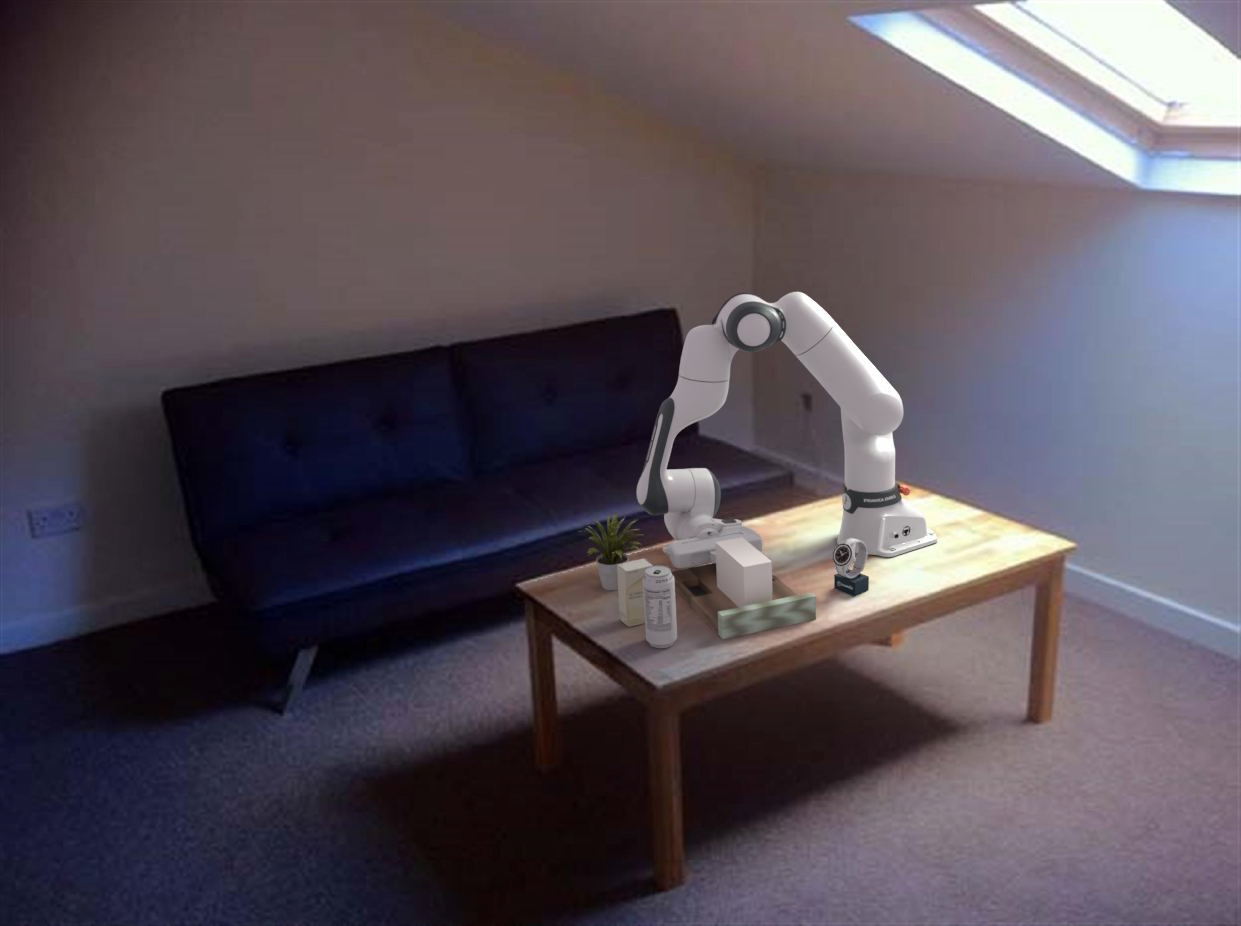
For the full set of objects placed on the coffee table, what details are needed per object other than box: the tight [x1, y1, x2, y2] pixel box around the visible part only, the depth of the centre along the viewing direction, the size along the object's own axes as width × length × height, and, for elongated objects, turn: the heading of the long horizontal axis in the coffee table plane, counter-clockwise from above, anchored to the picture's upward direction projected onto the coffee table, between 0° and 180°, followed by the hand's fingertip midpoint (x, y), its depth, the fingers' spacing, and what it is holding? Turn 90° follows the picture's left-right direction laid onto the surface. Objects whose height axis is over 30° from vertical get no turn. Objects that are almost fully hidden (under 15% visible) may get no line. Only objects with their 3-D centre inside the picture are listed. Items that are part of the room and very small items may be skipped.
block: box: [715, 537, 773, 607], centre depth 225 cm, size 6×14×10 cm, turn 18°
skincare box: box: [617, 558, 654, 628], centre depth 222 cm, size 6×4×12 cm
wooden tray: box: [671, 563, 817, 640], centre depth 229 cm, size 20×30×5 cm, turn 18°
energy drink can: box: [643, 565, 678, 649], centre depth 212 cm, size 6×6×15 cm
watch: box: [831, 538, 870, 598], centre depth 230 cm, size 6×8×11 cm
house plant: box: [578, 511, 643, 591], centre depth 237 cm, size 14×14×16 cm
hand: (729, 561), depth 231 cm, fingers closed, pressing on block
